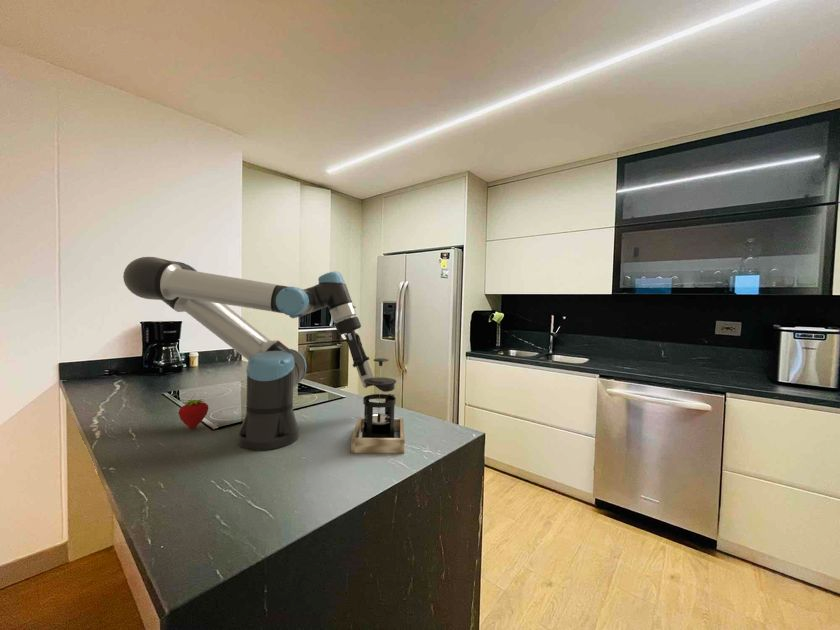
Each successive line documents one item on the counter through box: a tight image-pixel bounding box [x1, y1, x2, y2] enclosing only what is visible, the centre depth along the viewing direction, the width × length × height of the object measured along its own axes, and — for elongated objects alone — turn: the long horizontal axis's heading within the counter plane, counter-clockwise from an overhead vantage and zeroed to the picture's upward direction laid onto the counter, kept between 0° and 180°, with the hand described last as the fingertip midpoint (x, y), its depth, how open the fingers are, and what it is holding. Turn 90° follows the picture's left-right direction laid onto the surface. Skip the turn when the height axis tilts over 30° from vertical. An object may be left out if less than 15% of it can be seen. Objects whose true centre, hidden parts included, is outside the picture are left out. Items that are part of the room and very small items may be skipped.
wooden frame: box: [350, 417, 405, 454], centre depth 94 cm, size 14×17×4 cm
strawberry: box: [178, 395, 210, 430], centre depth 97 cm, size 6×8×10 cm
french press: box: [361, 357, 397, 438], centre depth 94 cm, size 12×9×23 cm
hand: (369, 383), depth 105 cm, fingers open, 13 cm apart
